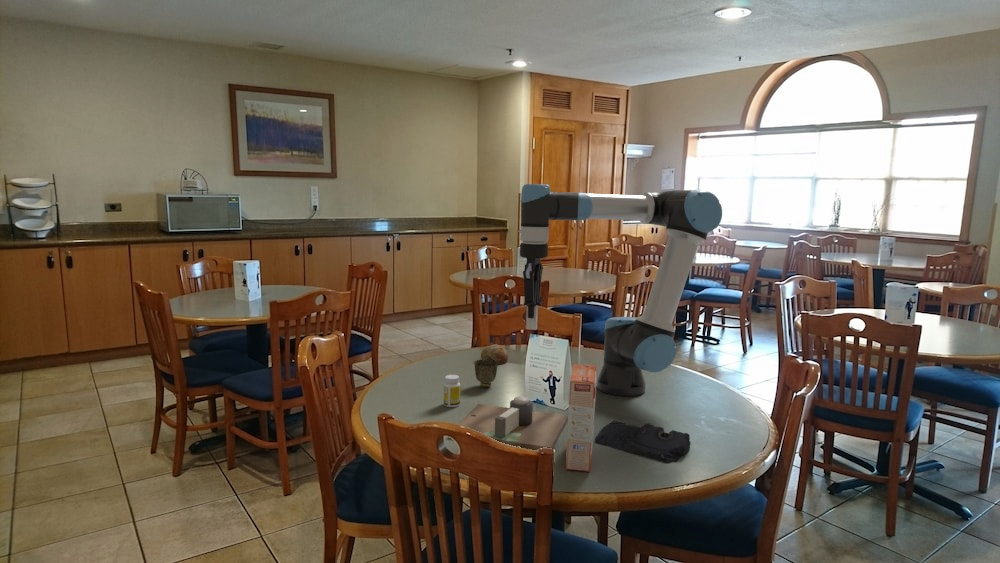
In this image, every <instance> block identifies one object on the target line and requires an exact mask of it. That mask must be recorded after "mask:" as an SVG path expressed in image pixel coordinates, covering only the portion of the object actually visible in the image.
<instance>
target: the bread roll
mask: <svg viewBox="0 0 1000 563" xmlns="http://www.w3.org/2000/svg"><path fill="white" fill-rule="evenodd" d="M508 354H509V353H508V350H507V348H505V347H504V346H502V345H500V344H497V343H494V344H491V345H488V346H485V347H484V348H483V349H482V351H481V354H480V358H481V360H483V362H484V360H485V359H486V360H488V359H489V360H490V362H491V361H492V360H493V362H494V361H495V360H496V362H497V363H498V365H503V363H504V364H506V363H507V362H508V356H509V355H508Z"/></svg>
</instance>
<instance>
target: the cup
mask: <svg viewBox="0 0 1000 563" xmlns="http://www.w3.org/2000/svg"><path fill="white" fill-rule="evenodd" d="M498 365H499V364H498V363H497V362H496V360H495V361H494V362H493V360H492V361H491V362H490V360H489V359H488V360H486V359H485V360H484V362H483V360H482V359H481V360H479V359H476V360H475V361H474V372H475V378H476V380H477V381H478V382H479V385H480V387H481V388H484V387H485V388H486V387H488V388H491V386H492V382H494V381H495V380H496V377H497V370H498ZM485 388H484V389H485Z"/></svg>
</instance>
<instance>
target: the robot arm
mask: <svg viewBox="0 0 1000 563" xmlns="http://www.w3.org/2000/svg"><path fill="white" fill-rule="evenodd" d="M722 218H723V208H722V204H721V202H720V200H719V198H718V197H717V196H716V195H715V194H714V193H713V192H711V191H707V190H702V189H693V190H692V189H689V190H686V189H684V190H683V189H673V190H666V191H665V190H664V191H656V192H652V191H651V192H643V193H642V194H641V195H637V194H617V193H616V194H615V193H614V194H612V193H611V194H610V193H609V194H607V193H589V192H580V191H576V192H574V191H573V192H571V191H570V192H569V191H559V192H556V191H552V190H551V187H550V185H549V184H542V183H525V184H524V185H523V186H522V188H521V194H520V229H518V233H519V235H520V237H519V238H520V239H519V240H520V241H521V243H520V244H519V257H521V258H523V259H524V258H526V263H525V264H524V270H523V272H522V276H523V287H524V288H523V289H524V290H523V291H524V292H523V293H524V303H523V306H524V307H526V321H525V323H526V324H525V329H526V330H530V331H531V330H532V331H537V329H538V313H539V312H538V311H539V308H538V306H541V304H542V302H540V300H541V288H542V277H543V269H544V267H543V264H542V262H541V259H546V258H548V255H549V244H548V242H549V232H550V231H549V229H550V227H549V226H550V221H576V222H579V221H586V220H606V221H607V220H608V221H609V220H611V221H612V220H614V221H615V220H617V221H639V222H640V223H641V224H644V225H655V226H660V227H664V228H665V232H666V234H667V236H668V238H667V242H666V245H665V248H664V251H663V253H662V256H661V259H660V262H659V265H658V269H657V272H656V275H655V277H654V281H653V283H652V286H651V290H650V293H649V294H648V298H647V301H646V305H645V308H644V310H643V314H642V315H640V316H637V317H636V316H616V317H615V316H614V317H610V318H609V317H608V318H607V319H606V320H605V325H604V330H603V331H604V341H603V342H604V343H603V344H604V346H603V363H602V367H601V369H600V371H599V374H598V377H597V378H596V389H597V390H599V391H601V392H603V393H605V394H609V395H613V396H619V397H620V396H621V397H633V396H635V397H636V396H639V395H642V394H644V393H645V392H646V381H645V377H644V374H643V371H646V372H648V373H659V372H660V373H661V372H662V371H664V370H666V369H668V367H670V366H671V365H672V363H673V362H674V360H675V359H676V356H677V346H676V342H675V341H674V336H675V332H676V330H675V327H674V326H673V322H674V318H675V316H676V314H677V313H676V312H677V310H678V306H679V304H680V301H681V298H682V295H683V291H684V288H685V286H686V282H687V281H688V280H687V279H688V276H689V273H690V270H691V268H692V265H693V261H694V259H695V256H696V253H697V249H698V247H699V246H700V245H701V244H703V243H706V240H707V237H708V234H709V233H710V232H713V231H714V230H715V229H717V227H719V225H720V223H721V221H722Z"/></svg>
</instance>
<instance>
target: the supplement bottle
mask: <svg viewBox="0 0 1000 563" xmlns="http://www.w3.org/2000/svg"><path fill="white" fill-rule="evenodd" d="M460 405H461V383H460V376H459V375H457V374H448V375H445V377H444V383H443V406H445V407H448V408H457V407H459V406H460Z"/></svg>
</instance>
